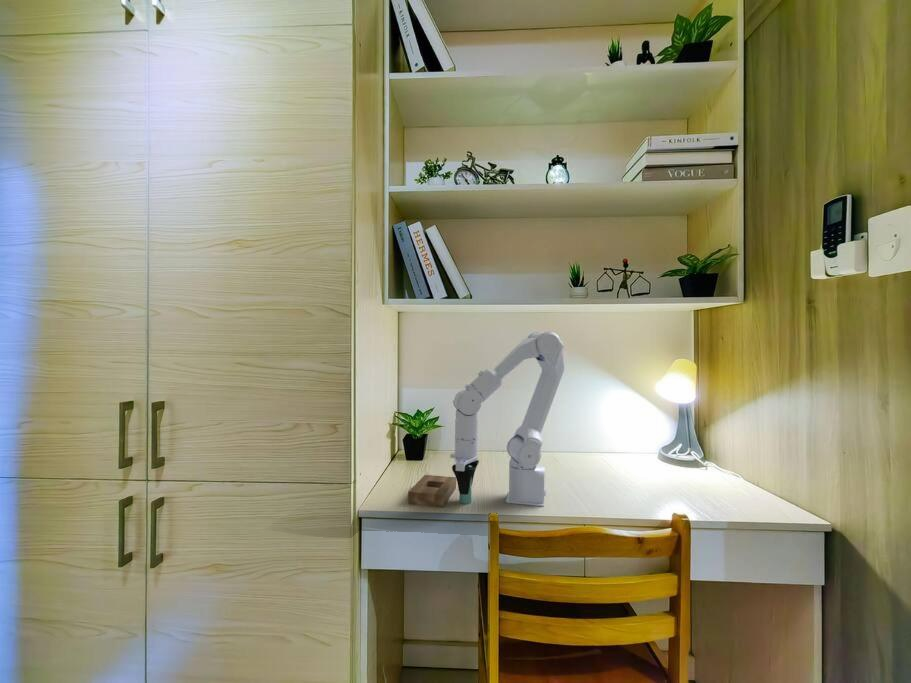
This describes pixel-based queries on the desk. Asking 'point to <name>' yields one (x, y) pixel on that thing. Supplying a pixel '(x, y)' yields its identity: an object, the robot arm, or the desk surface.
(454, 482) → the hole block
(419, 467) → the desk surface
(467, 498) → the peg
